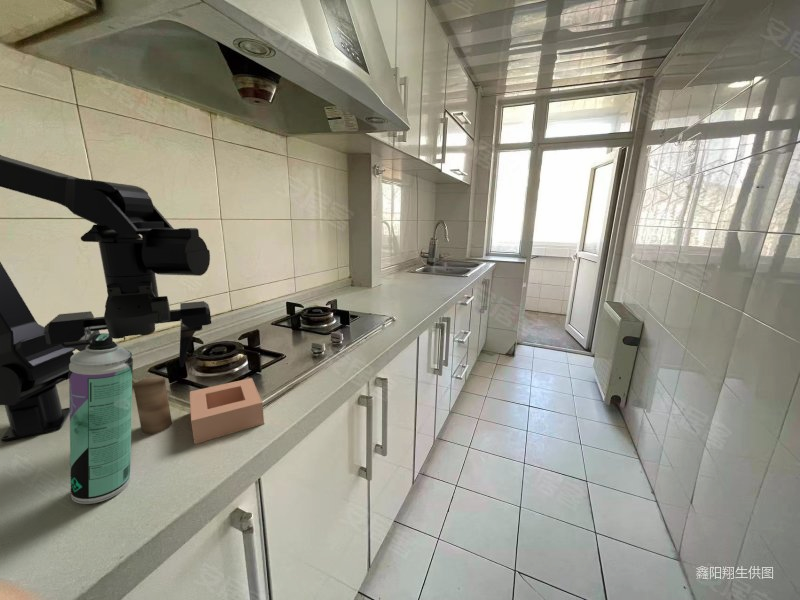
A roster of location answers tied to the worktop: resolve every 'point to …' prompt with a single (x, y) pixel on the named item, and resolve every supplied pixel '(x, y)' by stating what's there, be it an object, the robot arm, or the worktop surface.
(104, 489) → the spray can
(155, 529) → the worktop surface
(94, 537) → the worktop surface
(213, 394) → the socket block
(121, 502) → the worktop surface
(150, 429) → the peg
